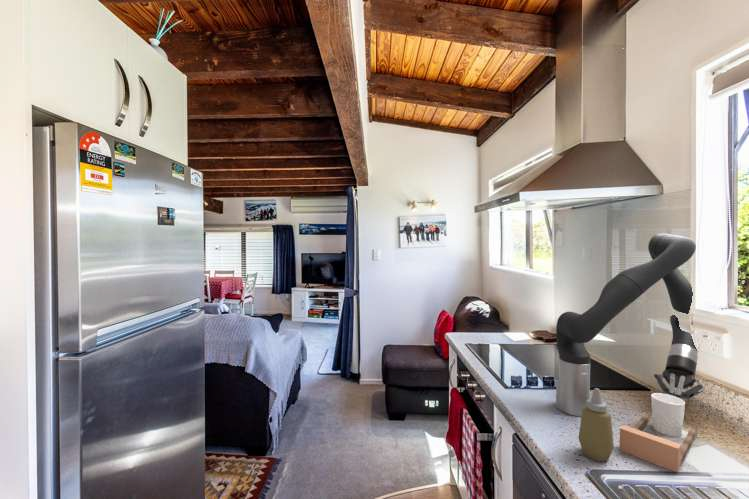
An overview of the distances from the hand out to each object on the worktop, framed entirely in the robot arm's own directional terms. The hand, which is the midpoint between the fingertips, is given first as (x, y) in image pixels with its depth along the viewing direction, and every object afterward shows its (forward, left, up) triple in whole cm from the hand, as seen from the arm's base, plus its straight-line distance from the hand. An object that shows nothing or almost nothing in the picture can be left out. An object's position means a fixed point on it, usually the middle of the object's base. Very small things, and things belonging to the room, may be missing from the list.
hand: (673, 406), depth 112 cm
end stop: (0, -30, -5) cm, 31 cm away
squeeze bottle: (-10, -40, -5) cm, 41 cm away
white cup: (0, -9, -5) cm, 10 cm away
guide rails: (0, -17, -5) cm, 17 cm away
